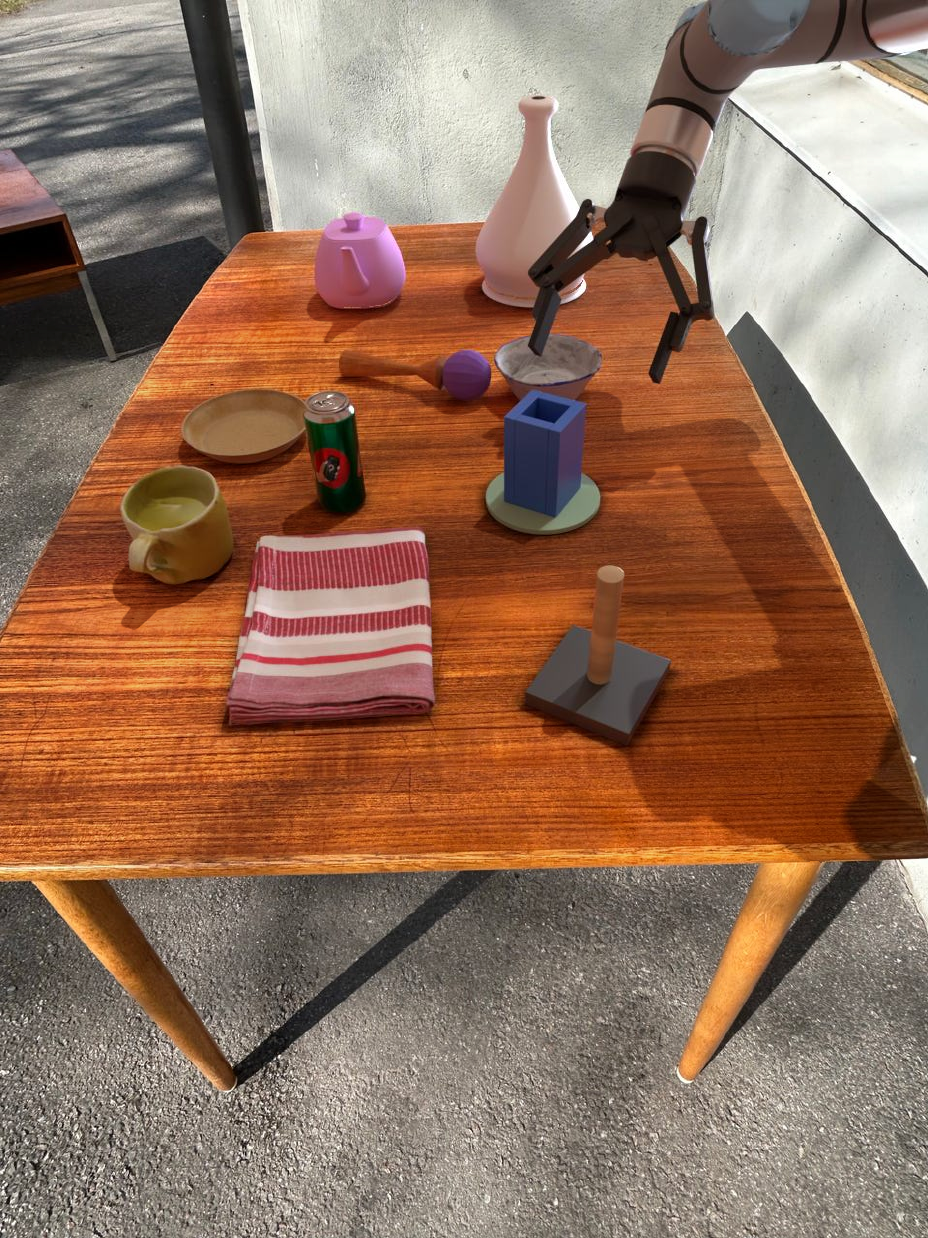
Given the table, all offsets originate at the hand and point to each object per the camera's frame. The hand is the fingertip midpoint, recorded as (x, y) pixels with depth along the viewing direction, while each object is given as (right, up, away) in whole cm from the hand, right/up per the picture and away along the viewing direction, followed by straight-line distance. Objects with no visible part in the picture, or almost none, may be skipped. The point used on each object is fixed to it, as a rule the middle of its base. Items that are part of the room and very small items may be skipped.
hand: (592, 364), depth 91 cm
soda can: (-26, -14, +2) cm, 30 cm away
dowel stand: (-2, -32, -19) cm, 37 cm away
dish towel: (-25, -27, -12) cm, 39 cm away
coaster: (-5, -14, +1) cm, 15 cm away
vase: (-3, +24, +40) cm, 47 cm away
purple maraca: (-19, +3, +19) cm, 27 cm away
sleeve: (-5, -13, 0) cm, 14 cm away
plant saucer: (-38, -6, +11) cm, 41 cm away
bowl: (-3, +2, +17) cm, 18 cm away
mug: (-41, -22, -6) cm, 47 cm away
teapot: (-29, +21, +39) cm, 52 cm away
